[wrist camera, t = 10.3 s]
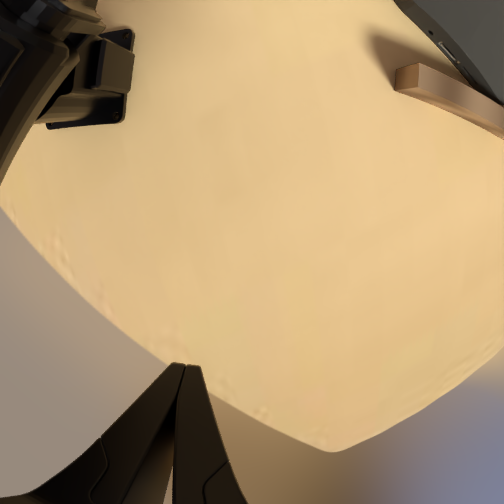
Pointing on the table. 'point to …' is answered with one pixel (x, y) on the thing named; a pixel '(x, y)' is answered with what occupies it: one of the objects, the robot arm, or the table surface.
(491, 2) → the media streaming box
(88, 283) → the table surface
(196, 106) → the table surface
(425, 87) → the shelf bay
